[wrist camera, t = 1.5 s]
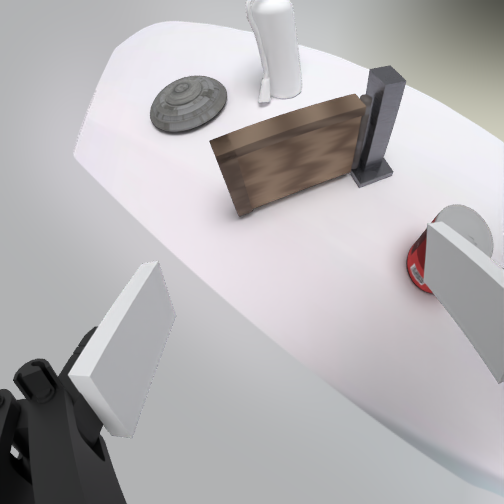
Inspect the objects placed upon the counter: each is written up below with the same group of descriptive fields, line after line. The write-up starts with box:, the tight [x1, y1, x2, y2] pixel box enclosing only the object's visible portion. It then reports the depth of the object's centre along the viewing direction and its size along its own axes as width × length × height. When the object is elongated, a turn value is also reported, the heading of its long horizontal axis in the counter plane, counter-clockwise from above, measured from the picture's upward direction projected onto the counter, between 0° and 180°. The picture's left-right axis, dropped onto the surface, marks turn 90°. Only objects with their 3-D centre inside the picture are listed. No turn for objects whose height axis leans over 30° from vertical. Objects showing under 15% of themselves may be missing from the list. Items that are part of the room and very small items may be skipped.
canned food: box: [407, 205, 493, 293], centre depth 33 cm, size 8×8×11 cm
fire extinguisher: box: [246, 0, 302, 103], centre depth 41 cm, size 7×12×25 cm, turn 135°
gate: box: [209, 94, 372, 216], centre depth 37 cm, size 19×2×13 cm, turn 111°
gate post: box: [350, 66, 406, 188], centre depth 37 cm, size 6×6×18 cm
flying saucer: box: [150, 76, 227, 132], centre depth 52 cm, size 15×15×6 cm
